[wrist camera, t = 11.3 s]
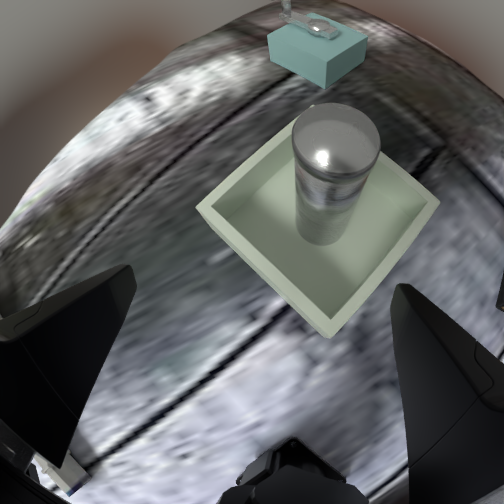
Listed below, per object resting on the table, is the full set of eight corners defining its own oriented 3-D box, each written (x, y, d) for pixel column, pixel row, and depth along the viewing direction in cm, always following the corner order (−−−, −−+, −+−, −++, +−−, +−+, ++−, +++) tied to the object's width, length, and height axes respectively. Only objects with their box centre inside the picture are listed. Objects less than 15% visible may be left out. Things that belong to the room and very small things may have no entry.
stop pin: (357, 220, 22) (397, 135, 12) (323, 258, 22) (346, 191, 12) (318, 187, 24) (328, 89, 13) (282, 222, 23) (272, 135, 13)
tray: (419, 223, 23) (440, 202, 18) (323, 337, 21) (331, 338, 17) (311, 136, 26) (313, 104, 22) (211, 228, 25) (195, 207, 21)
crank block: (364, 61, 29) (367, 36, 25) (325, 89, 28) (326, 62, 24) (312, 35, 31) (312, 12, 27) (270, 60, 30) (267, 35, 26)
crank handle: (346, 31, 25) (349, -4, 20) (318, 46, 24) (319, 8, 20) (297, 11, 27) (295, -21, 22) (268, 25, 26) (263, -9, 22)
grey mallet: (61, 503, 16) (-56, 318, 20) (89, 478, 23) (-21, 320, 26) (81, 487, 17) (-45, 289, 20) (110, 461, 23) (-8, 294, 27)
